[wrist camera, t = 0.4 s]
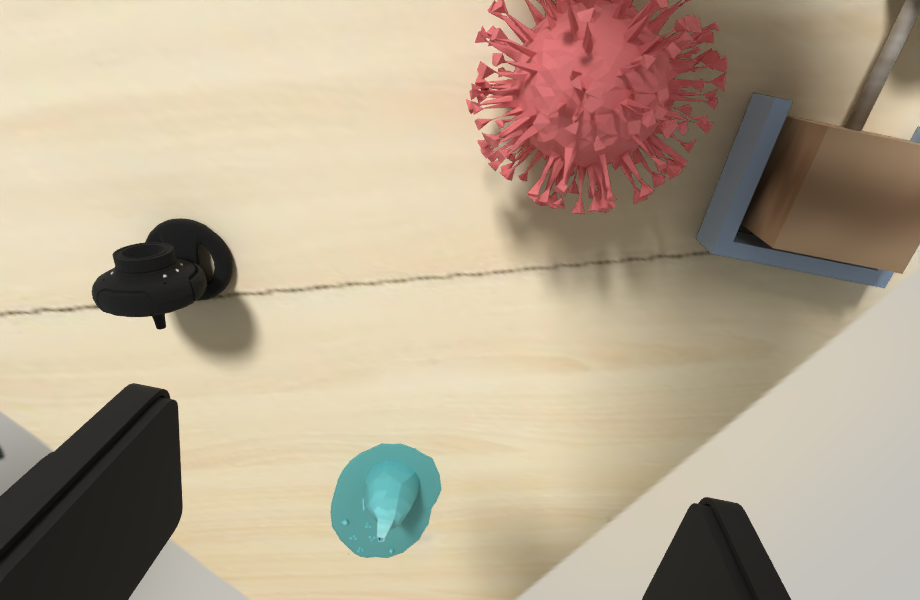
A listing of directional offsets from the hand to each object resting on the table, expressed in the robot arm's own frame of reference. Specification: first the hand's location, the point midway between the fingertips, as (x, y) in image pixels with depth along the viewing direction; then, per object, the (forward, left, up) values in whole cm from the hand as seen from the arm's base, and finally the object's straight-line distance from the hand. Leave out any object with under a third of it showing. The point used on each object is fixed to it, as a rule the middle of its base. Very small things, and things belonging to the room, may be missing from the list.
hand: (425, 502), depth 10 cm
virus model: (-2, +8, -36) cm, 37 cm away
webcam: (-2, -27, -36) cm, 45 cm away
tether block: (+7, +25, -36) cm, 44 cm away
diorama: (+30, -25, -36) cm, 53 cm away
